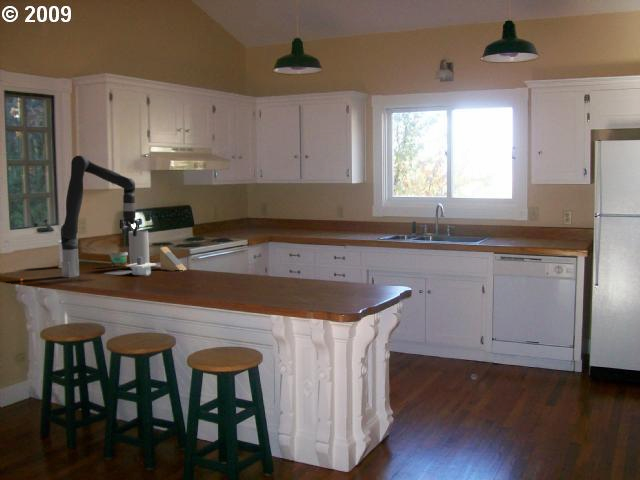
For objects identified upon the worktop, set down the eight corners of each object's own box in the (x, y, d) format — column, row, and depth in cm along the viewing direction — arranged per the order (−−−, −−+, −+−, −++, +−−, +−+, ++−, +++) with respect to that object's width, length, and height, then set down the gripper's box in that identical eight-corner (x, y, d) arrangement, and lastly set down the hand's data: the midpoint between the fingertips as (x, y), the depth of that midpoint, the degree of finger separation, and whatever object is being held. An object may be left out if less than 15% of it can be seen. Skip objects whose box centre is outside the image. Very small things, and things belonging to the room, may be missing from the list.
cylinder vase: (143, 267, 462) (141, 230, 459) (153, 268, 453) (151, 231, 450) (126, 269, 453) (125, 231, 450) (136, 271, 444) (135, 232, 442)
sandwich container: (180, 271, 442) (180, 248, 440) (160, 270, 447) (159, 247, 445) (187, 269, 450) (186, 246, 448) (167, 268, 455) (166, 246, 453)
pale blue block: (142, 276, 422) (142, 267, 421) (128, 275, 427) (128, 266, 426) (154, 273, 432) (154, 265, 431) (140, 272, 437) (140, 264, 436)
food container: (109, 268, 458) (108, 253, 457) (109, 267, 464) (109, 252, 463) (128, 267, 461) (127, 252, 460) (128, 266, 467) (127, 251, 466)
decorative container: (63, 265, 472) (62, 239, 470) (79, 265, 471) (78, 239, 469) (55, 268, 461) (53, 241, 459) (71, 268, 460) (70, 241, 458)
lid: (142, 267, 420) (141, 259, 420) (126, 266, 426) (125, 257, 426) (156, 265, 432) (155, 256, 431) (140, 263, 438) (139, 255, 437)
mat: (121, 275, 425) (121, 274, 425) (102, 274, 432) (102, 273, 432) (139, 272, 439) (139, 271, 439) (120, 270, 446) (120, 269, 446)
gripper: (116, 210, 429) (116, 235, 430) (133, 211, 422) (134, 237, 424) (124, 209, 435) (125, 234, 437) (142, 210, 429) (142, 236, 430)
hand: (129, 236), depth 430 cm, fingers open, 8 cm apart
